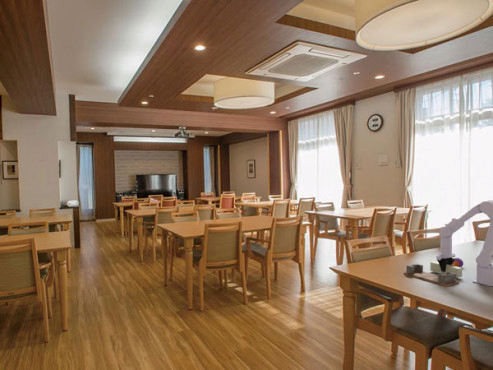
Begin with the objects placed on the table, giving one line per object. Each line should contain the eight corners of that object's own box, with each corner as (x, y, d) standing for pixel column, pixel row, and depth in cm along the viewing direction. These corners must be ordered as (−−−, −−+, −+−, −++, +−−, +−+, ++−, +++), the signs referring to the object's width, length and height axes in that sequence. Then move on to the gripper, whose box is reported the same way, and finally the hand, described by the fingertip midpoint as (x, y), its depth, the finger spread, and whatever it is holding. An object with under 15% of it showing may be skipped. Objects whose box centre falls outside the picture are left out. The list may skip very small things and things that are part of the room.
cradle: (458, 283, 177) (459, 274, 177) (446, 286, 172) (446, 276, 172) (416, 271, 200) (416, 262, 199) (403, 274, 195) (403, 265, 194)
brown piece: (440, 264, 201) (453, 256, 214) (442, 274, 201) (455, 266, 214) (451, 264, 197) (463, 256, 209) (453, 274, 196) (465, 266, 209)
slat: (462, 276, 186) (462, 267, 186) (457, 277, 184) (457, 268, 184) (434, 269, 200) (434, 261, 200) (430, 270, 199) (430, 262, 198)
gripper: (446, 244, 199) (446, 267, 199) (431, 247, 192) (431, 270, 193) (459, 247, 193) (458, 270, 193) (443, 249, 186) (443, 273, 186)
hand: (445, 270), depth 192 cm, fingers closed on slat, 4 cm apart
